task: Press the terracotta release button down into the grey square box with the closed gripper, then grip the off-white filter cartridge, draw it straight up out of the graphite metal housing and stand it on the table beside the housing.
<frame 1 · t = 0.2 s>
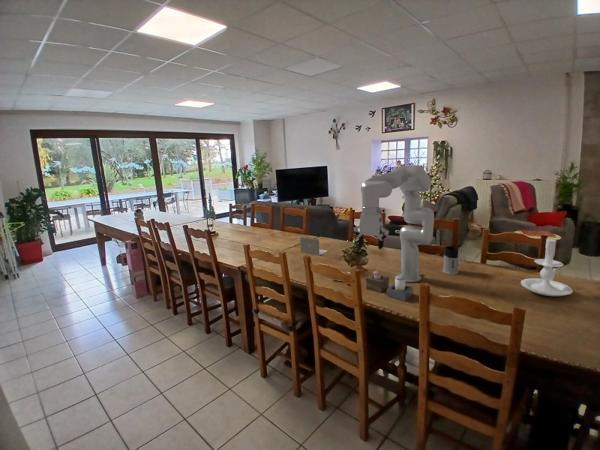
hand: (370, 246, 145), 31 cm above the table, tool pointing down, fingers open, 9 cm apart
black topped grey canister: (453, 273, 188), on the table
laptop: (314, 252, 245), on the table
filter cartridge: (400, 286, 162), in the cartridge housing
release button: (377, 277, 173), point 6 cm above the table, slide at 0.0 cm
grey square box: (377, 287, 174), on the table
cartridge housing: (399, 295, 163), on the table
valve: (342, 282, 185), on the table
candlestick: (546, 291, 159), on the table
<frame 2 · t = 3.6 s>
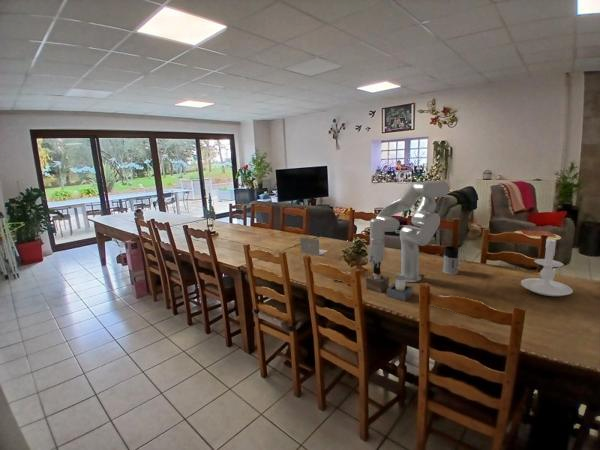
hand: (376, 273, 172), 8 cm above the table, tool pointing down, fingers closed
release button: (377, 278, 173), point 5 cm above the table, slide at 0.7 cm, touching gripper
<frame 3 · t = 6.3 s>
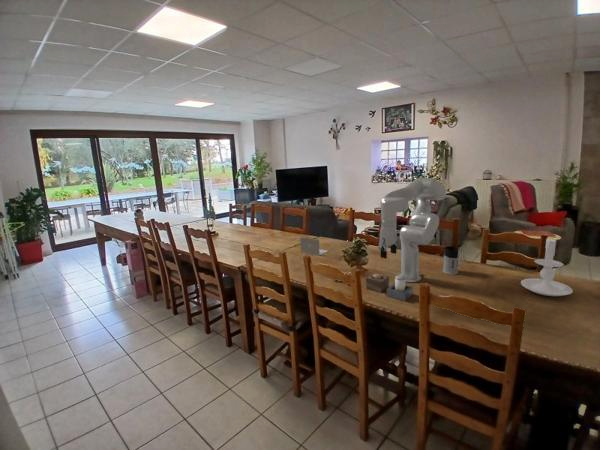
hand: (388, 255, 164), 20 cm above the table, tool pointing down, fingers open, 9 cm apart
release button: (377, 280, 173), point 4 cm above the table, slide at 1.8 cm
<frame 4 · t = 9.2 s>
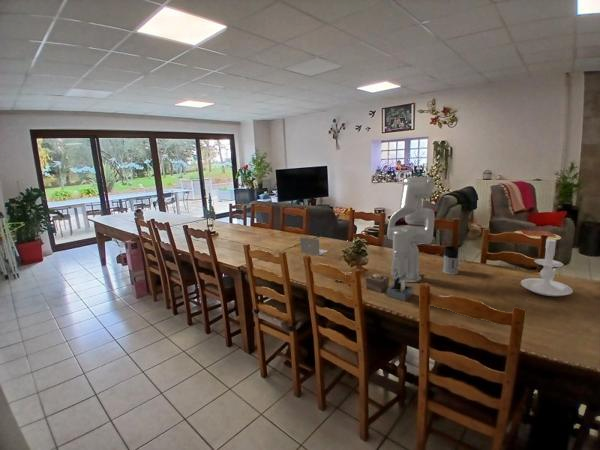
hand: (400, 287, 162), 4 cm above the table, tool pointing down, fingers closed on filter cartridge, 5 cm apart
filter cartridge: (400, 286, 162), in the cartridge housing, touching gripper
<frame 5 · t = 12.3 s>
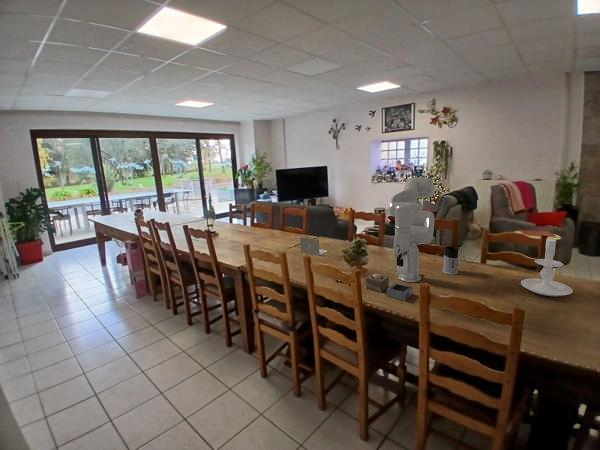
hand: (402, 264, 159), 17 cm above the table, tool pointing down, fingers closed on filter cartridge, 5 cm apart
filter cartridge: (402, 263, 159), point 18 cm above the table, touching gripper
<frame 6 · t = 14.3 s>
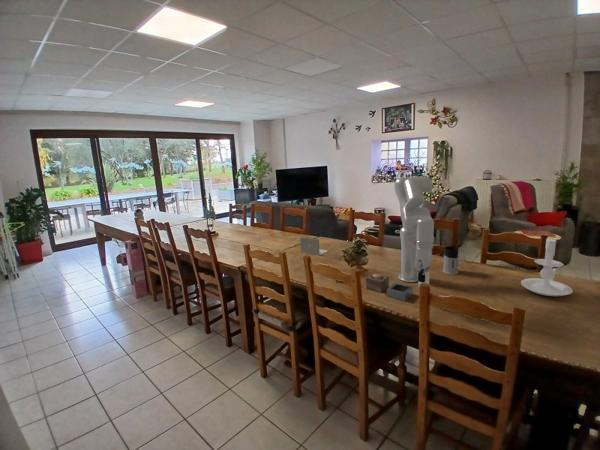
hand: (423, 279, 152), 12 cm above the table, tool pointing down, fingers closed on filter cartridge, 5 cm apart
filter cartridge: (423, 278, 152), point 12 cm above the table, touching gripper
when the fingers open (6 cm above the table, at t = 15.7 s): filter cartridge drops 1 cm, on the table.
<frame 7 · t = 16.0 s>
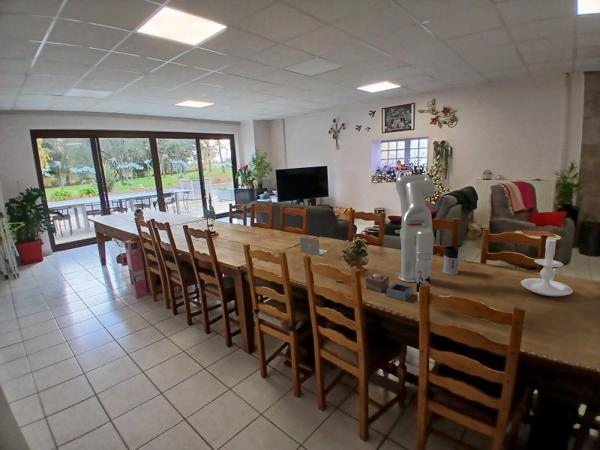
hand: (423, 288, 154), 7 cm above the table, tool pointing down, fingers open, 8 cm apart
filter cartridge: (423, 291, 154), on the table
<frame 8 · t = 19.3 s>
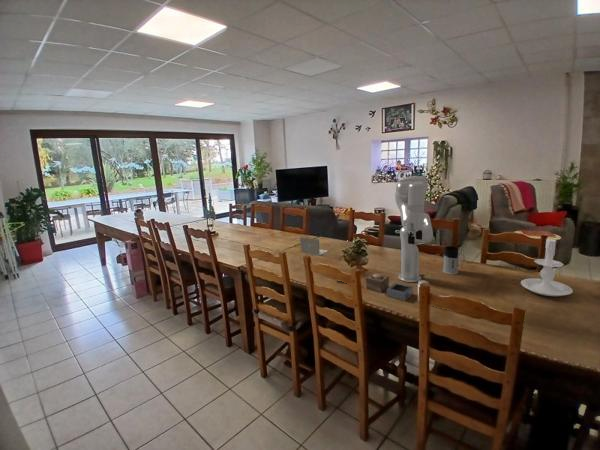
hand: (415, 241, 158), 28 cm above the table, tool pointing down, fingers open, 9 cm apart
at the end: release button slide at 1.8 cm; filter cartridge inside the target area (0.1 cm from its centre), on the table; filter cartridge tilted 0° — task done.
